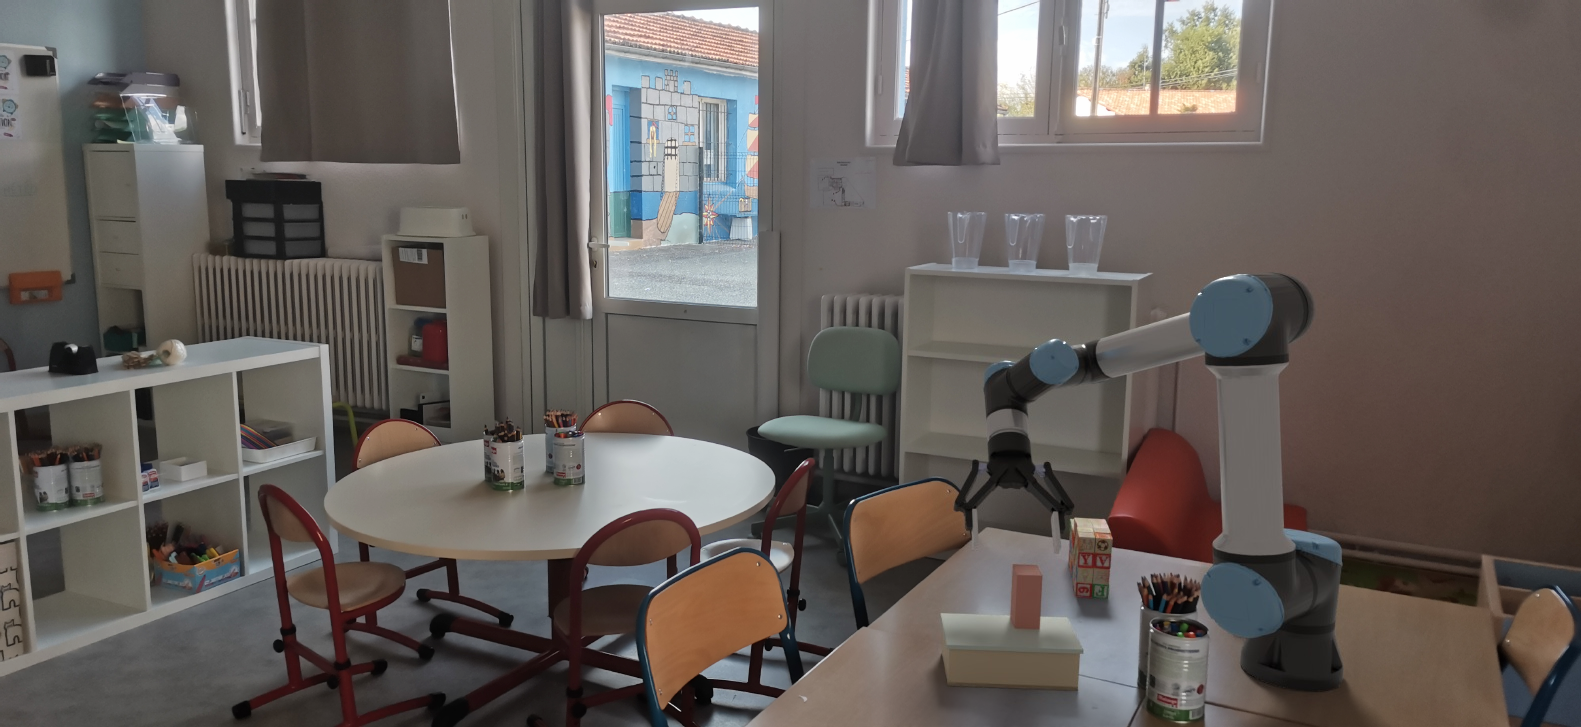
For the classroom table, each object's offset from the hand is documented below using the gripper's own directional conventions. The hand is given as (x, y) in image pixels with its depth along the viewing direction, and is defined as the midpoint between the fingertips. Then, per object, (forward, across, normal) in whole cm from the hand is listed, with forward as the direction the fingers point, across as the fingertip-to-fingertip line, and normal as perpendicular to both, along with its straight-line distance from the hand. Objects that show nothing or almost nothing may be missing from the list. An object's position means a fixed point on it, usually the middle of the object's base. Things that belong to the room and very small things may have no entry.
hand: (1016, 548), depth 181 cm
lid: (+15, +2, -1) cm, 15 cm away
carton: (+19, +2, -5) cm, 20 cm away
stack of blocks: (-12, -20, -37) cm, 44 cm away
